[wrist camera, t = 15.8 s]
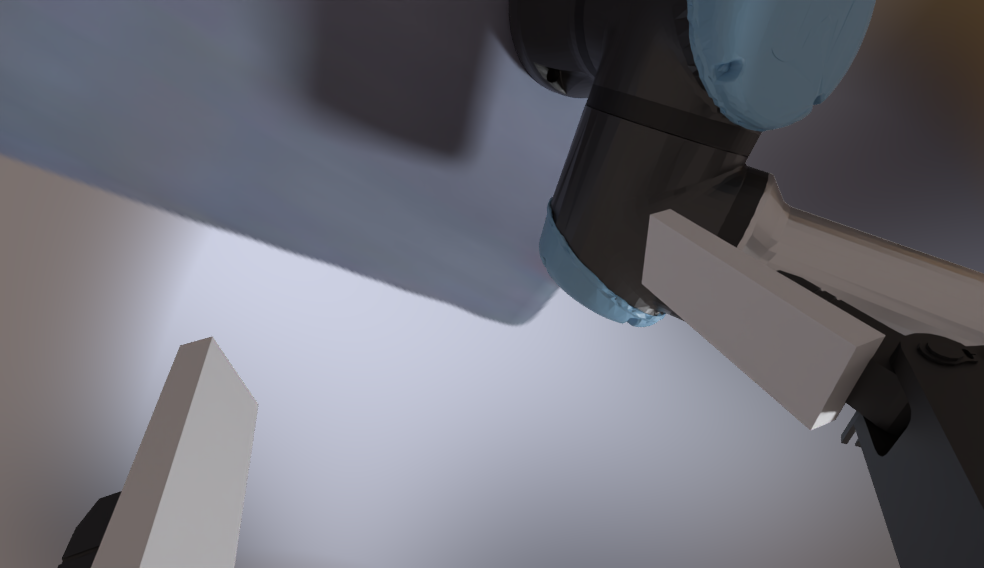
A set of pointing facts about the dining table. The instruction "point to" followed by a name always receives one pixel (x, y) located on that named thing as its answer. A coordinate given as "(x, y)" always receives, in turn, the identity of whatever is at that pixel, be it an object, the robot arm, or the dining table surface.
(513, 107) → the dining table surface
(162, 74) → the dining table surface
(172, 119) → the dining table surface
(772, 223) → the robot arm
